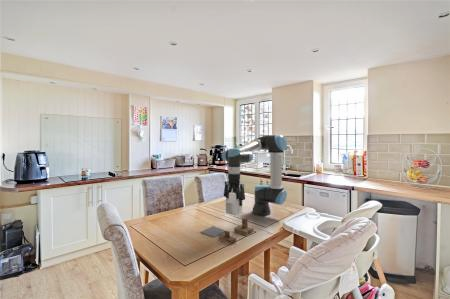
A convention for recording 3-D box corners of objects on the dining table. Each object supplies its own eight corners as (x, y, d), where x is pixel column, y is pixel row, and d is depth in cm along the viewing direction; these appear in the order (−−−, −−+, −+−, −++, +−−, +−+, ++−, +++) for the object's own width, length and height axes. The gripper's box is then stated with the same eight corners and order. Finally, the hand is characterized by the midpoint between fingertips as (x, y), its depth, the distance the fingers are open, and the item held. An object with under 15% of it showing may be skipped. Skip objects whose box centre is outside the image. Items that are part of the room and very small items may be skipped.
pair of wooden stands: (240, 227, 147) (240, 215, 146) (253, 231, 140) (253, 219, 140) (218, 239, 129) (218, 225, 129) (231, 244, 123) (231, 230, 122)
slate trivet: (213, 226, 148) (213, 226, 148) (226, 231, 141) (226, 230, 141) (200, 232, 139) (200, 231, 139) (214, 237, 132) (214, 236, 132)
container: (232, 210, 139) (232, 190, 138) (242, 212, 134) (242, 192, 133) (225, 213, 133) (225, 192, 132) (235, 215, 128) (235, 194, 127)
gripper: (217, 172, 136) (217, 207, 137) (244, 175, 123) (244, 214, 124) (225, 171, 142) (225, 204, 143) (251, 174, 129) (251, 211, 130)
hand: (234, 209), depth 133 cm, fingers closed on container, 8 cm apart
